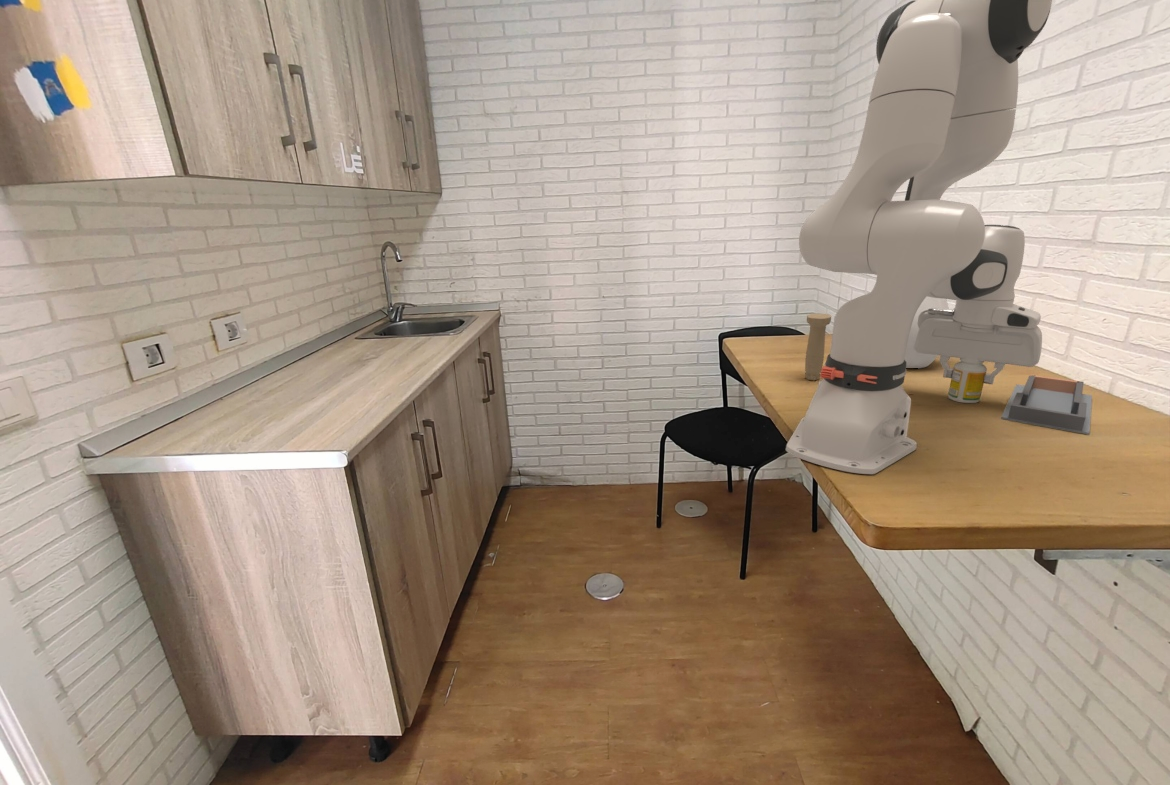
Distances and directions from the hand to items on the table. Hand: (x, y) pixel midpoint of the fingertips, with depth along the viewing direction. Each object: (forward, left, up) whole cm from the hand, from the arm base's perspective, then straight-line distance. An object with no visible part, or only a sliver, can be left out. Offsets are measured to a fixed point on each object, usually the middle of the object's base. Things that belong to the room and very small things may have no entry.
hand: (967, 380), depth 105 cm
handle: (-4, +29, -4) cm, 30 cm away
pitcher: (+23, +13, -4) cm, 27 cm away
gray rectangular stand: (+4, -13, -4) cm, 14 cm away
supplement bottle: (0, 0, -4) cm, 4 cm away
